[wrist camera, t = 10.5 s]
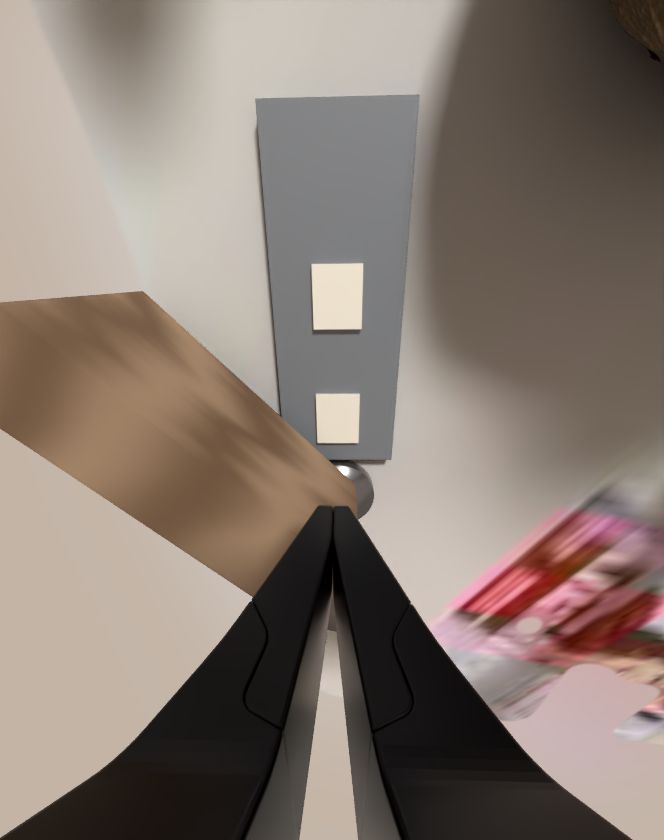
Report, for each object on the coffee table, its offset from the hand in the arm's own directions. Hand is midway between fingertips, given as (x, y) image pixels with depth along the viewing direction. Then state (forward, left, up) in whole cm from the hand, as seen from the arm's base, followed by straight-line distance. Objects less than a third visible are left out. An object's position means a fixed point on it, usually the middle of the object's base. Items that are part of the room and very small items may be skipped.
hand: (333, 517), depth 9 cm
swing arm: (+3, +5, -10) cm, 12 cm away
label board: (+2, -3, -12) cm, 13 cm away
